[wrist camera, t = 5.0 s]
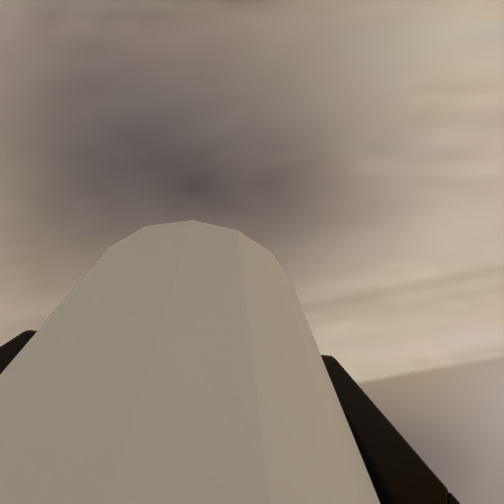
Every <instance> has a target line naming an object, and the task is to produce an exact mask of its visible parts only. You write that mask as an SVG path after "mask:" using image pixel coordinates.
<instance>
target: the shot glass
mask: <svg viewBox="0 0 504 504" xmlns="http://www.w3.org/2000/svg"><path fill="white" fill-rule="evenodd" d="M0 504H380V502H379V499H378V497H377V494H376V492H375V489H374V487H373V484H372V482H371V479H370V477H369V474H368V472H367V469H366V467H365V464H364V462H363V459H362V457H361V454H360V452H359V449H358V447H357V444H356V442H355V439H354V437H353V434H352V432H351V429H350V427H349V424H348V422H347V419H346V417H345V414H344V412H343V409H342V407H341V404H340V402H339V399H338V397H337V394H336V392H335V389H334V387H333V384H332V382H331V379H330V377H329V375H328V372H327V370H326V367H325V365H324V362H323V360H322V357H321V355H320V352H319V350H318V347H317V345H316V342H315V340H314V337H313V335H312V332H311V330H310V327H309V325H308V322H307V320H306V317H305V315H304V312H303V310H302V307H301V305H300V302H299V300H298V297H297V295H296V292H295V290H294V287H293V285H292V283H291V281H290V280H289V278H288V277H287V275H286V273H285V272H284V270H283V269H282V267H281V265H280V264H279V262H278V261H277V259H276V258H275V256H274V254H273V253H271V252H270V251H268V250H267V249H265V248H264V247H262V246H261V245H259V244H258V243H256V242H255V241H253V240H252V239H250V238H249V237H247V236H246V235H244V234H243V233H241V232H240V231H238V230H235V229H230V228H226V227H221V226H217V225H212V224H208V223H204V222H199V221H195V220H187V221H180V222H172V223H164V224H157V225H149V226H145V227H143V228H141V229H139V230H138V231H136V232H134V233H132V234H131V235H129V236H127V237H125V238H124V239H122V240H120V241H118V242H117V243H115V244H113V245H111V246H110V247H109V248H108V249H107V250H106V251H105V252H104V253H103V255H102V256H101V257H100V258H99V259H98V260H97V262H96V263H95V264H94V265H93V266H92V267H91V269H90V270H89V271H88V272H87V273H86V275H85V276H84V277H83V278H82V279H81V280H80V282H79V283H78V284H77V285H76V286H75V287H74V289H73V290H72V291H71V292H70V293H69V294H68V296H67V297H66V298H65V299H64V300H63V302H62V303H61V304H60V305H59V306H58V307H57V309H56V310H55V311H54V312H53V313H52V314H51V316H50V317H49V318H48V319H47V320H46V321H45V323H44V324H43V325H42V326H41V327H40V329H39V330H38V331H37V332H36V333H35V334H34V336H33V337H32V338H31V339H30V340H29V341H28V343H27V344H26V345H25V346H24V347H23V348H22V350H21V351H20V352H19V353H18V354H17V356H16V357H15V358H14V359H13V360H12V361H11V363H10V364H9V365H8V366H7V367H6V368H5V370H4V371H3V372H2V373H1V374H0Z"/></svg>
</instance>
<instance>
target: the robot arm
mask: <svg viewBox="0 0 504 504" xmlns="http://www.w3.org/2000/svg"><path fill="white" fill-rule="evenodd" d="M36 332H37V331H34V330H28V331H25V332H23V333H21V334H20V335H18V336H16V337H15V338H13V339H12V340H10V341H9V342H7V343H6V344H4V345H2V346H1V347H0V374H1V373H2V372H3V371H4V370H5V368H6V367H7V366H8V365H9V364H10V363H11V361H12V360H13V359H14V358H15V357H16V356H17V354H18V353H19V352H20V351H21V350H22V348H23V347H24V346H25V345H26V344H27V343H28V341H29V340H30V339H31V338H32V337H33V336H34V334H35V333H36ZM321 357H322V360H323V362H324V365H325V367H326V370H327V372H328V375H329V377H330V379H331V382H332V384H333V387H334V389H335V392H336V394H337V397H338V399H339V402H340V404H341V407H342V409H343V412H344V414H345V417H346V419H347V422H348V424H349V427H350V429H351V432H352V434H353V437H354V439H355V442H356V444H357V447H358V449H359V452H360V454H361V457H362V459H363V462H364V464H365V467H366V469H367V472H368V474H369V477H370V479H371V482H372V484H373V487H374V489H375V492H376V494H377V497H378V499H379V502H380V504H460V503H459V501H458V500H457V499H456V498H455V497H454V496H453V495H452V494H451V493H448V490H447V488H446V487H445V485H444V484H443V483H442V482H441V481H440V480H439V479H438V477H437V476H436V475H435V474H434V473H433V472H432V471H431V469H430V468H429V467H428V466H427V465H426V464H425V462H424V461H423V460H422V459H421V458H420V456H419V455H418V454H417V453H416V452H415V451H414V450H413V448H412V447H411V446H410V445H409V444H408V443H407V441H406V440H405V439H404V438H403V437H402V436H401V434H400V433H399V432H398V431H397V430H396V429H395V427H394V426H393V425H392V424H391V423H390V422H389V421H388V419H387V418H386V417H385V416H384V415H383V414H382V413H381V411H380V410H379V409H378V408H377V407H376V406H375V405H374V403H373V402H372V401H371V400H370V399H369V397H368V396H367V395H366V394H365V393H364V392H363V390H362V389H361V388H360V387H359V386H358V385H357V383H356V382H355V381H354V380H353V379H352V378H351V376H350V375H349V374H348V373H347V372H346V371H345V370H344V368H343V367H342V366H341V365H340V364H339V363H338V361H337V360H336V359H335V358H334V357H332V356H328V355H321Z"/></svg>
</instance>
